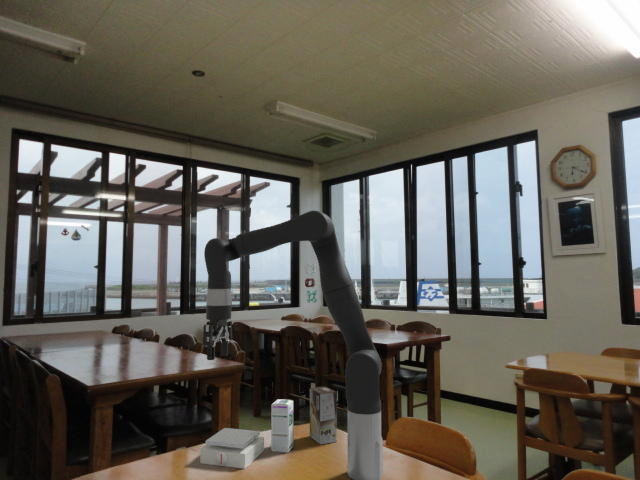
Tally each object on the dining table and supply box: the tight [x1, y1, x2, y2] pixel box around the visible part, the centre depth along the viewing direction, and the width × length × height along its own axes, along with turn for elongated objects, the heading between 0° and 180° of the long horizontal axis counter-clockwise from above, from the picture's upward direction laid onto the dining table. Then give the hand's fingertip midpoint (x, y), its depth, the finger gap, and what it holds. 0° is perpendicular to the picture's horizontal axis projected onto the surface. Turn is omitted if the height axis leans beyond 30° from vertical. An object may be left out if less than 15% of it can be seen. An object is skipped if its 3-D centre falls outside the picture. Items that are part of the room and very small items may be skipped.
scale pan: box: [205, 427, 261, 448], centre depth 135 cm, size 12×12×1 cm
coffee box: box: [309, 386, 338, 445], centre depth 151 cm, size 9×6×16 cm
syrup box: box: [270, 398, 295, 454], centre depth 142 cm, size 6×6×14 cm
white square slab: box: [199, 436, 265, 470], centre depth 134 cm, size 14×15×4 cm
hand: (217, 357), depth 136 cm, fingers open, 8 cm apart
